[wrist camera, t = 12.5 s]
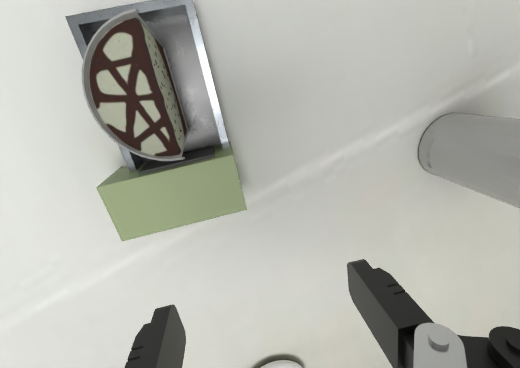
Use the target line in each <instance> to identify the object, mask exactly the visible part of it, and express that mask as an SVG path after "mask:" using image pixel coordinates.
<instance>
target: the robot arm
mask: <svg viewBox="0 0 520 368" xmlns="http://www.w3.org/2000/svg"><path fill="white" fill-rule="evenodd" d="M419 160H420V163H421V165H422V166H423V168H424V169H425V170H426V171H428V172H430V173H432V174H434V175H437V176H439V177H442V178H444V179H447V180H450V181H452V182H454V183H457V184H459V185H462V186H464V187H467V188H469V189H472V190H475V191H477V192H480V193H482V194H485V195H487V196H490V197H492V198H495V199H497V200H500V201H502V202H505V203H507V204H510V205H513V206H515V207H518V208H520V119H511V118H501V117H492V116H483V115H474V114H464V113H450V114H446V115H444V116H442V117H440V118H438V119H437V120H436V121H434V122H433V123H432V124H431V125H430V126H429V127H428V129H427V130H426V132H425V133H424V135H423V137H422V139H421V142H420V145H419ZM347 271H348V284H349V292H350V295H351V298H352V300H353V302H354V304H355V306H356V307H357V309H358V311H359V312H360V314H361V316H362V317H363V319H364V320H365V322H366V324H367V325H368V327H369V329H370V330H371V332H372V334H373V335H374V337H375V339H376V340H377V342H378V343H379V345H380V347H381V348H382V350H383V352H384V353H385V355H386V357H387V358H388V360H389V362H390V363H391V365H392V367H393V368H520V330H519V329H516V328H512V327H505V326H501V327H496V328H494V329H492V330H491V331H490V333H489V338H486V337H470V336H460V335H457V334H455V333H454V332H453V331H452V330H450V329H449V328H447V327H445V326H443V325H440V324H436V323H434V322H433V321H432V320H431V319H430V318H429V317H428V316H427V314H426V313H425V312H424V311H423V310H422V309H421V308H420V307H419V306H418V304H417V303H416V302H415V301H414V300H413V299H412V298H411V297H410V296H409V294H408V293H407V292H405V290H404V289H403V288H402V287H401V286H400V285H399V284H398V282H397V281H396V280H395V279H394V278H393V277H392V276H391V274H389V273H387V272H386V271H384V270H382V269H380V268H376V269H373V268H372V267H371V266H370V265H369V264H368V262H367V261H366V260H364V259H362V260H358V261H353V262H349V263H348V264H347ZM185 344H186V336H185V330H184V327H183V324H182V322H181V319H180V317H179V314H178V312H177V309H176V307H175V305H169V306H165V307H161V308H157V309H155V311H154V314H153V317H152V320H151V323H148V324H144V326H143V327H142V329H141V330H140V331H139V333H138V334H137V335H136V337H135V340H134V343H133V346H132V348H131V349H132V351H130V354H129V357H128V362H127V363H126V365H125V368H182V365H183V358H184V351H185Z"/></svg>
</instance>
